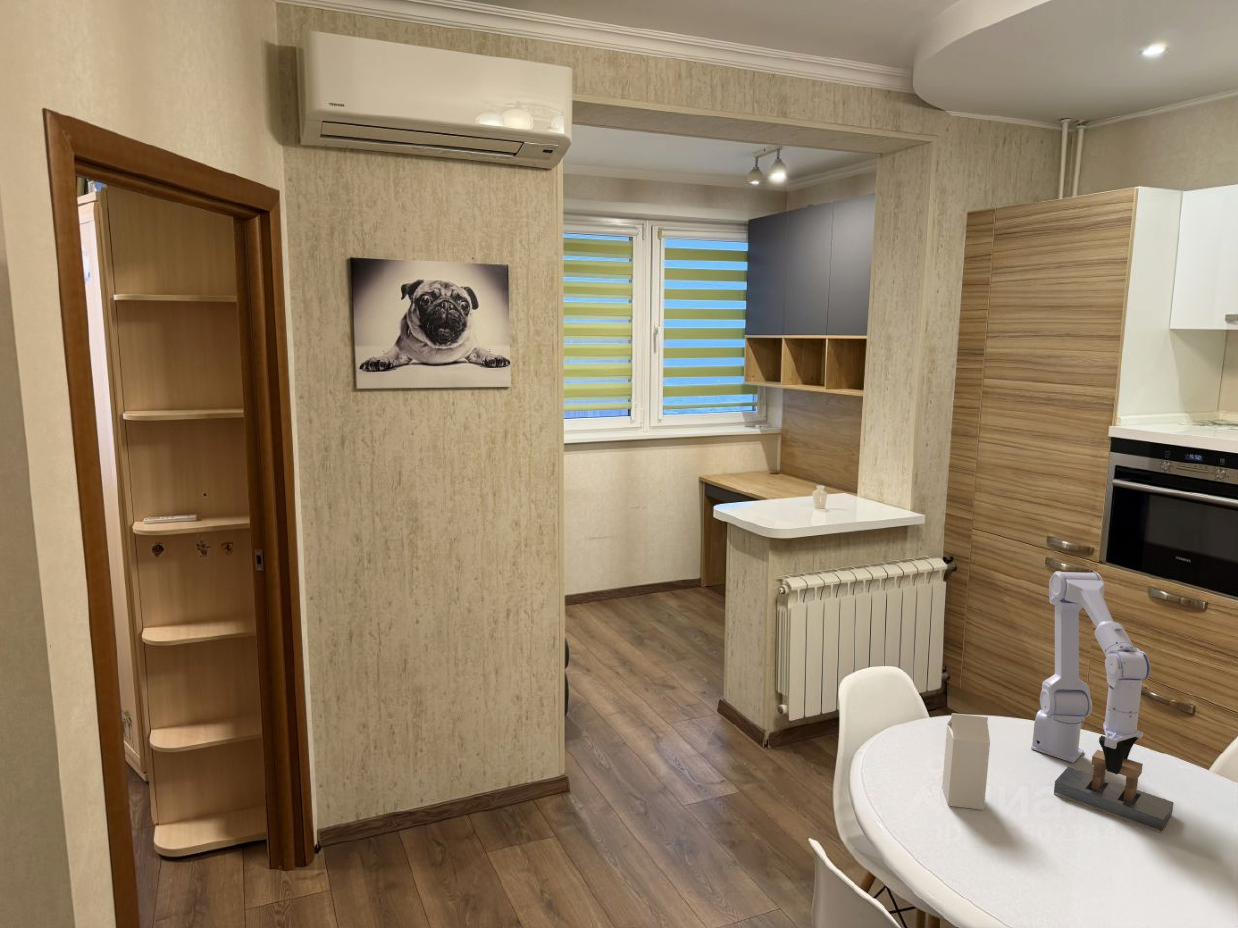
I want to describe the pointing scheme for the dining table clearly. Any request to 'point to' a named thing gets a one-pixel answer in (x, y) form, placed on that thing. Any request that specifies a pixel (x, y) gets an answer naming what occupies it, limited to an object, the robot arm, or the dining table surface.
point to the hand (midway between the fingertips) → (1115, 768)
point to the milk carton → (966, 761)
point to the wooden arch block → (1128, 769)
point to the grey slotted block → (1114, 800)
